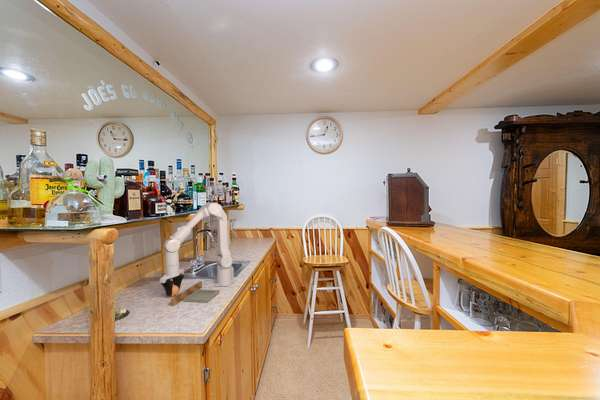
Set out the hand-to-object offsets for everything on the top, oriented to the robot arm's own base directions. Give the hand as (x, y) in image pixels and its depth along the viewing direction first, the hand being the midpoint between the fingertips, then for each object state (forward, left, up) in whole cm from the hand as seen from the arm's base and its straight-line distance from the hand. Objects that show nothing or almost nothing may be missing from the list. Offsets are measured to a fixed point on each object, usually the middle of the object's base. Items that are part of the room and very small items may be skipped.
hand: (173, 293), depth 117 cm
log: (+22, -11, -2) cm, 24 cm away
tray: (0, +15, -1) cm, 15 cm away
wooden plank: (-1, +7, -1) cm, 7 cm away
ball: (0, 0, +1) cm, 1 cm away
